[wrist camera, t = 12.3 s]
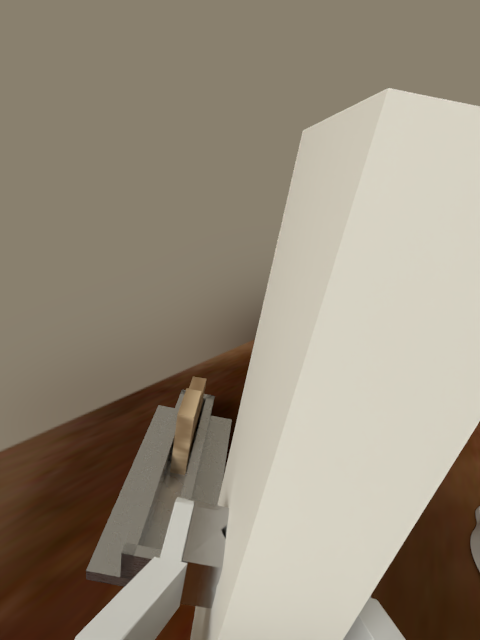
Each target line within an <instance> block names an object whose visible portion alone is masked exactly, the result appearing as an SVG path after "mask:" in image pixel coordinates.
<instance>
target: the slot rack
mask: <svg viewBox="0 0 480 640" xmlns="http://www.w3.org/2000/svg"><path fill="white" fill-rule="evenodd" d="M185 391H186V390H182V391H181V394H180V396H179V399H178V402H177V404H176V407H175V408H170V407H165V406H160V405H158V408H157V410H156V412H155V415H154V417H153V419H152V421H151V424H150V426H149V428H148V431H147V433H146V435H145V437H144V440H143V442H142V444H141V447H140V449H139V451H138V453H137V456H136V458H135V460H134V463H133V465H132V467H131V469H130V472H129V474H128V476H127V479H126V481H125V483H124V485H123V488H122V490H121V492H120V495H119V497H118V499H117V501H116V504H115V506H114V508H113V511H112V513H111V515H110V517H109V520H108V522H107V524H106V527H105V529H104V531H103V533H102V536H101V538H100V540H99V542H98V545H97V547H96V549H95V552H94V554H93V556H92V558H91V561H90V563H89V565H88V568H87V570H86V579H88V580H93V581H98V582H104V583H109V584H114V585H119V586H124V587H125V586H126V585H127V584H128V583H129V582H130V581H131V580H132V579H133V578H134V577H135V576H136V575H137V574H138V573H139V572H140V571H141V570H142V569H143V568H144V567H145V566H146V565H147V564H148V563H149V562H150V561H151V560H152V559H153V558H154V557H160V555H161V551H162V548H163V544H164V540H165V537H166V533H167V529H168V526H169V522H170V518H171V515H172V511H173V507H174V504H175V501H176V499H177V497H180V498H186V499H191V500H195V501H200V502H204V503H209V504H214V505H218V500H219V496H220V491H221V487H222V483H223V476H224V469H225V462H226V456H227V449H228V442H229V435H230V429H231V422H232V420H231V419H226V418H221V417H216V416H211V413H212V408H213V403H214V397H215V396H212V395H207V394H204V397H203V403H202V409H201V415H200V421H199V424H198V428H197V432H196V436H195V440H194V443H193V447H192V451H191V454H190V458H189V462H188V466H187V470H186V473H185V475H181V474H176V473H171V472H170V468H171V461H172V453H173V445H174V437H175V430H176V422H177V414H178V411H179V408H180V406H181V403H182V400H183V397H184V394H185ZM194 503H195V502H194Z"/></svg>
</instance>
